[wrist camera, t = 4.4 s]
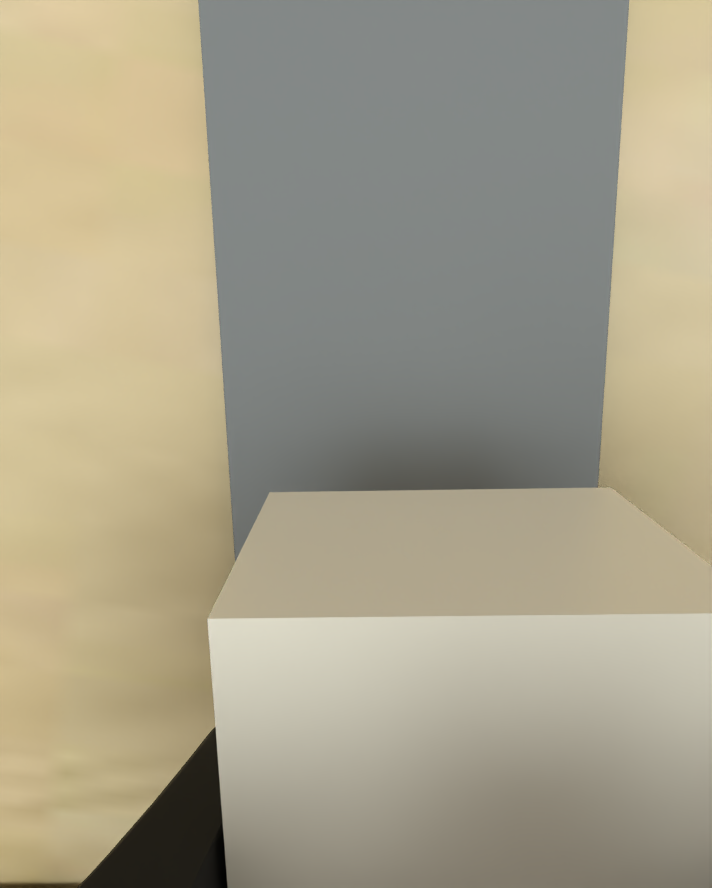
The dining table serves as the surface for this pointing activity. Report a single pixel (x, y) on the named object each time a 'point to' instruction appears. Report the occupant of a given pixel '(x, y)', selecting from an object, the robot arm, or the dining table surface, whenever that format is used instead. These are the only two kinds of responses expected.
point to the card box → (464, 694)
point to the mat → (412, 240)
